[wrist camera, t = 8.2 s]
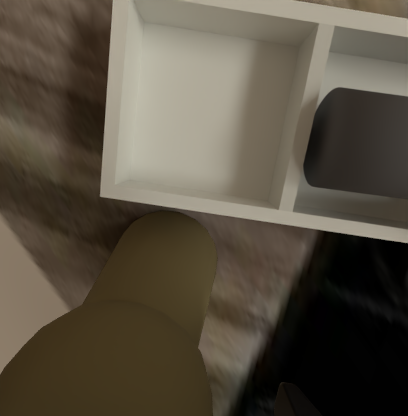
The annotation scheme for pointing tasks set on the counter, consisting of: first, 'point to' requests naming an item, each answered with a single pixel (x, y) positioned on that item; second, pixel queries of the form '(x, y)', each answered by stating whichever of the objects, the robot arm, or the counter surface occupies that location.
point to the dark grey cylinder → (359, 143)
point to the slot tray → (242, 107)
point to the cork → (126, 333)
